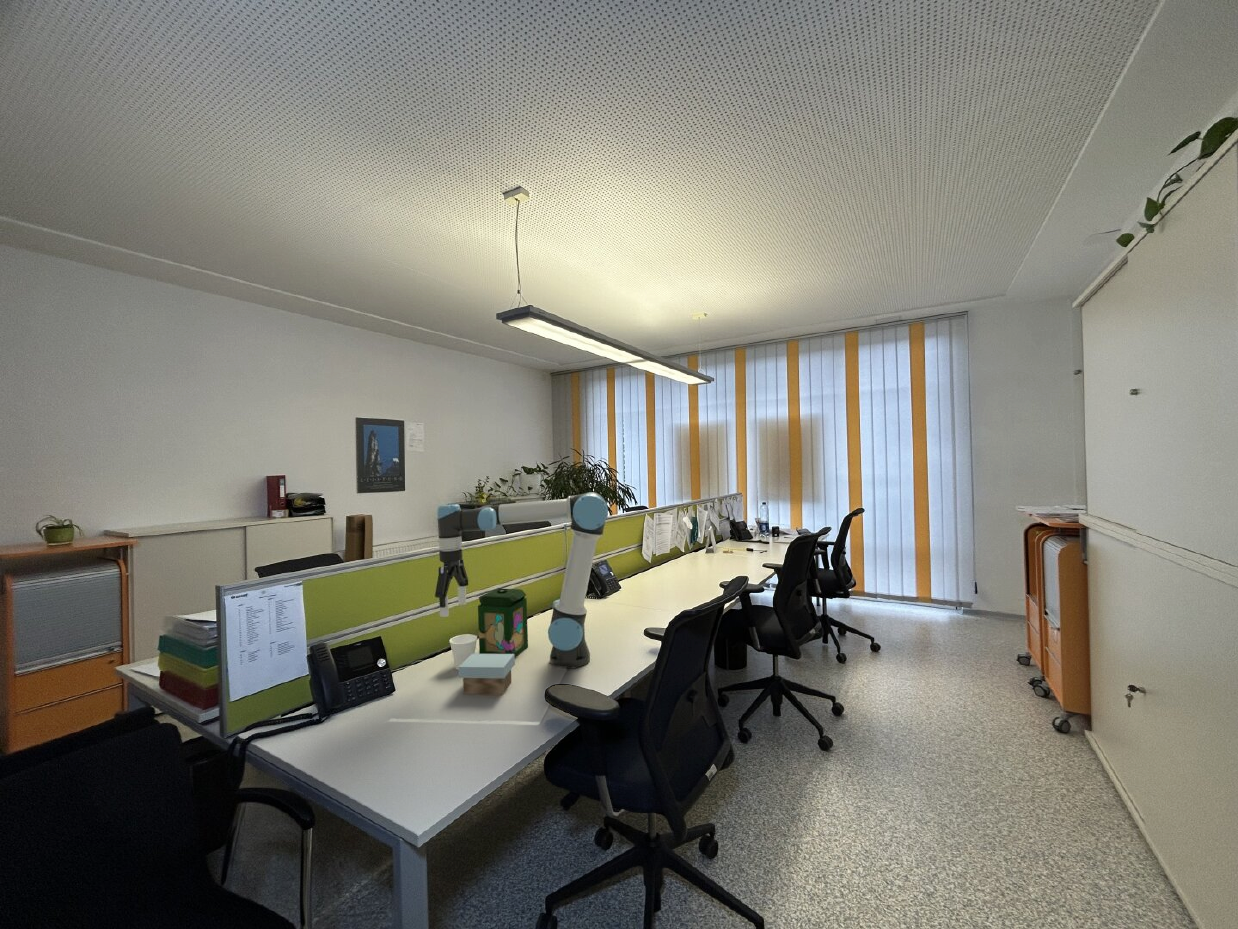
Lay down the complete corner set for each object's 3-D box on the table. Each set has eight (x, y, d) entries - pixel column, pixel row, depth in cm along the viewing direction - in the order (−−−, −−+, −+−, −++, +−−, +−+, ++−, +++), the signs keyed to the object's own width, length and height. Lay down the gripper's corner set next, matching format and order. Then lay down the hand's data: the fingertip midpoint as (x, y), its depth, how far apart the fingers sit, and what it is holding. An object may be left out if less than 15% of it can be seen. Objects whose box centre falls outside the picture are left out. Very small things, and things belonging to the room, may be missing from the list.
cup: (470, 675, 176) (469, 644, 176) (444, 673, 178) (443, 643, 178) (483, 663, 185) (482, 634, 185) (459, 662, 187) (458, 633, 187)
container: (495, 643, 206) (493, 584, 206) (533, 647, 201) (531, 586, 201) (475, 657, 192) (473, 593, 192) (516, 661, 187) (513, 595, 187)
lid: (514, 664, 168) (514, 654, 168) (504, 678, 157) (503, 667, 157) (472, 663, 169) (472, 653, 169) (458, 677, 158) (458, 667, 158)
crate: (511, 684, 167) (510, 658, 167) (502, 697, 158) (501, 669, 158) (474, 684, 168) (473, 657, 168) (463, 696, 159) (462, 668, 159)
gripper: (456, 543, 184) (459, 600, 184) (421, 556, 159) (425, 622, 159) (475, 542, 183) (478, 600, 183) (443, 555, 158) (447, 621, 158)
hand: (453, 610), depth 171 cm, fingers open, 13 cm apart
